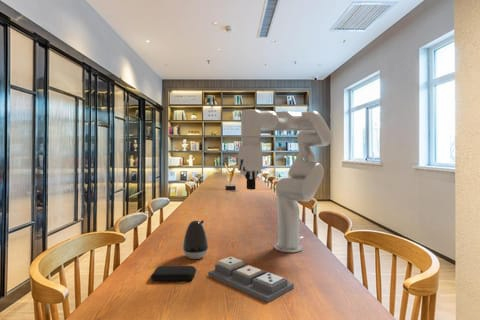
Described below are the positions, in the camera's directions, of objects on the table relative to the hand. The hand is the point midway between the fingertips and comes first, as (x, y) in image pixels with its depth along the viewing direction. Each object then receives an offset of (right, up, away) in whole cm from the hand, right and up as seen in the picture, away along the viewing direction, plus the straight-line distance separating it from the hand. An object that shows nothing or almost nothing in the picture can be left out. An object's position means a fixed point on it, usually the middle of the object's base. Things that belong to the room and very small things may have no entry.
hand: (250, 189), depth 118 cm
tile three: (+5, -28, -22) cm, 36 cm away
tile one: (-1, -28, -16) cm, 32 cm away
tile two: (-8, -27, -10) cm, 29 cm away
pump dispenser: (-23, -29, +8) cm, 38 cm away
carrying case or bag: (-27, -30, -11) cm, 42 cm away
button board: (-1, -30, -16) cm, 34 cm away
